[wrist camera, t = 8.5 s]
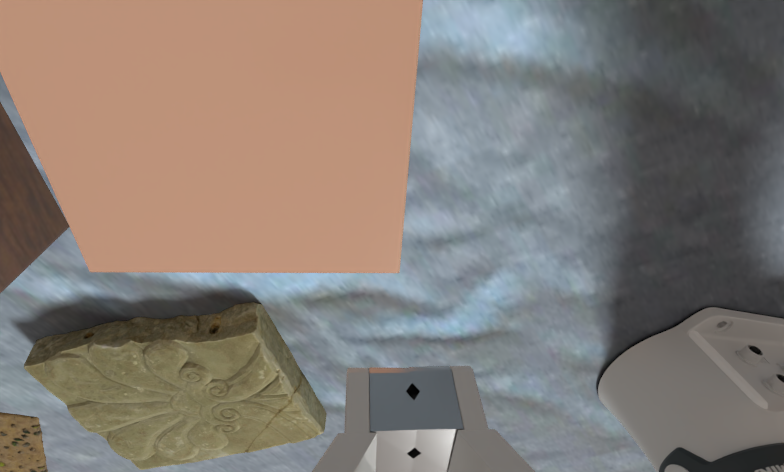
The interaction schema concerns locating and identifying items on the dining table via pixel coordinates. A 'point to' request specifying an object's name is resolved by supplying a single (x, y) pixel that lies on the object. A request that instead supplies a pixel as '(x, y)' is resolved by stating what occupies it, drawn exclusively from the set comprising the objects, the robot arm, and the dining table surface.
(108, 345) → the decorative tile
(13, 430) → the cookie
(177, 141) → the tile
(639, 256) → the dining table surface
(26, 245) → the tissue box cover
